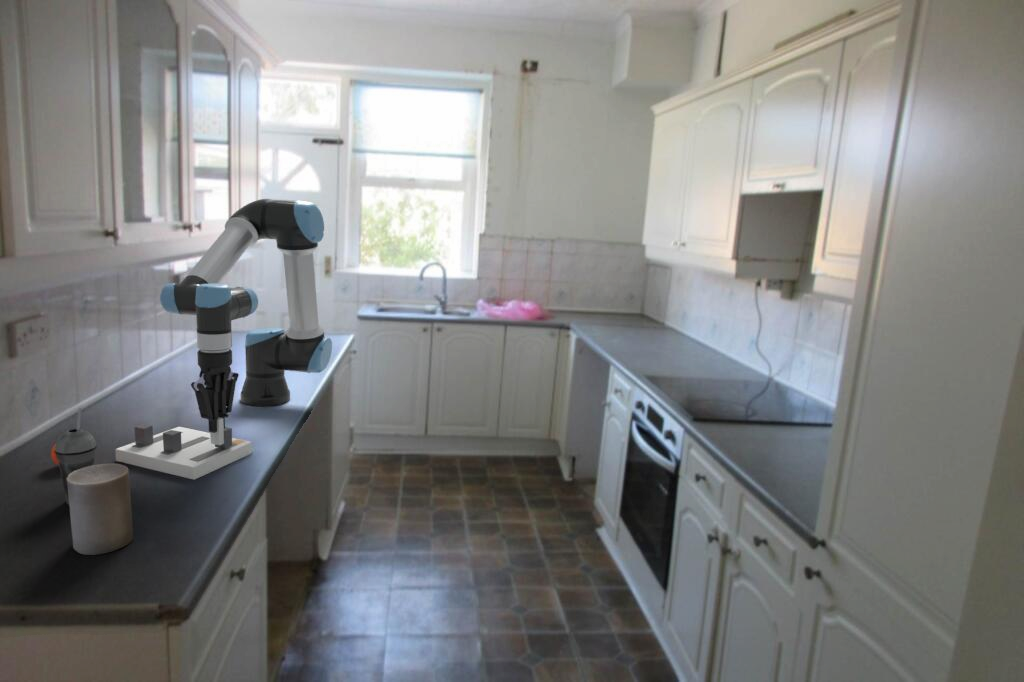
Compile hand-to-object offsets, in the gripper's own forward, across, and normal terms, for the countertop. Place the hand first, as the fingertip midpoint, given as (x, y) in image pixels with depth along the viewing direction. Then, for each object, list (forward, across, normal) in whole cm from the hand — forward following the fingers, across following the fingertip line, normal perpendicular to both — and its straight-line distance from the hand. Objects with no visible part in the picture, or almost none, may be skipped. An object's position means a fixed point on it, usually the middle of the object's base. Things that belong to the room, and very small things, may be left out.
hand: (217, 443), depth 160 cm
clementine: (+5, +17, -27) cm, 32 cm away
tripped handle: (+1, -2, 0) cm, 2 cm away
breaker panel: (+5, +1, -9) cm, 10 cm away
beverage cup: (+5, +29, -9) cm, 31 cm away
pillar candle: (+5, +39, +10) cm, 41 cm away
